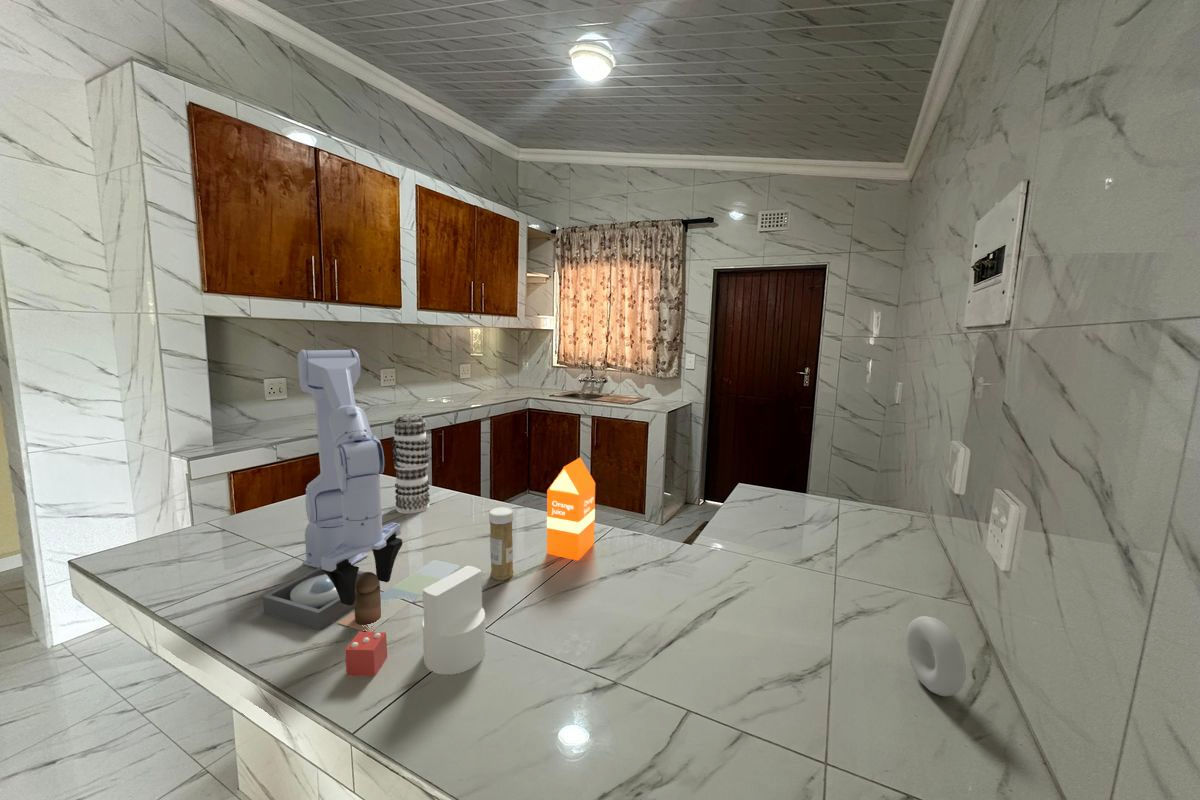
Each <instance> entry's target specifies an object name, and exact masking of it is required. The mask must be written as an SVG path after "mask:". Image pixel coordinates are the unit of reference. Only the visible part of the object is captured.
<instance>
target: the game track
mask: <svg viewBox="0 0 1200 800" xmlns="http://www.w3.org/2000/svg"><path fill="white" fill-rule="evenodd" d="M461 567H462V565H460V564H456V563H451V562H446V561H442V560H437V559H432V560H431V561H429V562H428V563H426V564H425V565H423V566H422V567H420V568H419V569H417V570H415V571H414V572H413V573H411V574H410V575H408V576H407V577H404V578H403V579H402V580H400V581H399V582H397V583H396V584H394V585H392V586H391V587H390V588H388V589H387V590H385V591H384V592H382V593H380V597H381V599H382V600H387V601H388V599H389V600H390V598H391V599H392V600H393V598H394V599H397V598H398V599H402V596H403V597H405V598H406V596H407V599H408V600H409V599H410V600H413V599H414V600H415V601H416V600H417V599H419V598H420V597H423V589H424V588H426V587H428V586H430V585H432V584H434V583H436V582H438V581H440V580H441V579H443V578H445V577H447V576H449V575H451V574H453V573H455V572H457V571H458V570H459V569H460V568H461ZM401 595H402V596H401ZM399 596H400V597H401V598H400V597H399ZM395 597H396V598H395ZM408 597H409V598H408ZM403 599H404V598H403ZM382 602H383V601H382ZM384 603H386V601H385V602H384ZM387 604H388V602H387ZM382 605H383V604H382ZM384 606H385V605H384ZM387 606H388V605H387ZM381 610H382V609H381ZM383 611H384V610H383ZM382 613H383V612H382ZM387 616H388V615H387ZM337 624H338V625H341V626H344V627H347V626H349V627H348V628H352V629H355V630H357V629H358V631H361V630H362V631H361V632H364V631H366V630H367V631H366V632H372V630H373V632H375V630H376V629H375V628H376V627H377V626H376V627H375V626H374V625H373V626H374V627H375V628H374V627H373V626H371V629H372V630H371V629H370V628H369V627H368V625H366V626H367V627H368V628H369V629H370V630H369V629H368V628H367V627H366V626H364V625H363V626H364V627H363V626H362V625H359V624H357V623H356V622H355V611H353V612H352V613H350V614H348V615H347V616H346V617H344V618H343V619H341V620H340V621H338V622H337ZM372 627H373V628H374V629H375V630H374V629H373V628H372ZM365 629H366V630H365ZM363 630H364V631H363Z"/></svg>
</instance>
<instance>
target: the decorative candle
mask: <svg viewBox="0 0 1200 800" xmlns="http://www.w3.org/2000/svg"><path fill="white" fill-rule="evenodd" d="M426 422H427V420H425V419H424V418H423V417H422V415H419V414H403V415H400V416H398V417H397V418H396V419H395V421H393V422H392V424H393V425H394V433H393V437H391V440H392V441H391V446H392V447H393V449H392V454H393V455H392V459H393V460H394V462H393V467H394V469H396V471H395V472H396V476H395V481H396V483H395V484H394V488H396V489H395V490H394V491H395V494H396V495H395V496H394V497H395V505H396V512H398V513H401V514H417V513H421V512H424V511H426V510H428V509H429V508H430V506H431V505H430V502H431V500H430V495H431V494H430V491H429V490H430V487H429V484H430V481H429V479H428V473H427V469H428V468H427V466H429V462H430V460H429V459H428V458H427V457H429V455H430V454H429V453H427V452H426V451H428V450H429V449H430V446H428V444H429V442H430V441H429V440H427V431H426Z"/></svg>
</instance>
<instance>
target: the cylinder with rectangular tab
mask: <svg viewBox="0 0 1200 800" xmlns="http://www.w3.org/2000/svg"><path fill="white" fill-rule="evenodd" d="M482 578H483V577H482V570H481V569H479V568H478V567H476V566H472V565H466V566H465V567H462V568H461V569H460V568H459V569H457V570H456V571H454V572H453V573H451V574H450V575H449V576H447V577H445V578H443V579H441V580H440V581H438V582H436V583H434V584H432V585H430V586H428V587H426V588H424V589H423V595H422V600H423V601H422V602H423V603H422V604H423V619H422V644H423V645H422V647H423V663H425V664H424V666H425V665H426V666H425V668H426V669H428V670H429V671H430V672H432V671H433V672H432V673H434V672H436V674H437V673H439V674H438V675H443V674H445V675H444V676H447V675H446V674H449V675H456V673H457V674H461V672H462V673H464V672H466V671H469V670H471V669H473V668H475V667H476V666H477V665H478V664H479V663H480V662H482V660H483V659H484V657H485V655H486V652H487V651H486V650H487V649H486V648H487V646H486V645H487V644H486V643H487V641H486V637H487V636H486V610H485V609H484V607H483V589H482V588H483V585H482V584H483V583H482Z"/></svg>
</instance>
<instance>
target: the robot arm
mask: <svg viewBox="0 0 1200 800" xmlns="http://www.w3.org/2000/svg"><path fill="white" fill-rule="evenodd" d="M359 356H360V355H359V353H358V352H357V351H356V350H355V349H354V348H350V349H331V350H330V349H323V350H322V349H319V350H318V349H316V350H313V349H312V350H311V349H310V350H305V349H301V350H300V351H299V352H298V354H297V371H298V379H299V380H298V381H299V387H300V388H301V392H304V393H307V394H311V397H312V399H313V401H314V407H315V417H316V418H315V419H316V420H315V421H316V430H317V434H316V435H317V447H318V457H319V469H320V473H319V474H318V475H317V476H316V477H315V478H314V479H313V480H311V481H310V482H309V483H308V484H307V485H306V487H305V510H306V511H305V512H306V518H307V520H308V524H307V525H306V527H305V530H304V543H305V544H304V545H305V556H306V557H305V558H306V559H305V560H303V561H302V564H303V565H305V566H308V567H313V568H315V569H317V568H319V567H322V570H323V571H324V572H325V573H326V574H327V576H328V577H329V578H330V580H331V581H332V583H333V584H334V586H335V588H336V590H337V593H338V595H339V598H340V600H341V603H342V604H346V605H349V606H351V605H353V604H354V602H355V582H356V576H357V573H358V571H360V570H359V569H360V567H359V566H355V565H354V564H356V563H358V562H359V561H361V560H364V559H365V558H367V557H368V556H369V555H368V553H367V552H370V551H372V554H373V557H374V562H375V565H374V566H375V575H377V578H378V580H379V581H380V582H383V583H388V582H390V581H391V577H392V571H393V567H394V564H395V561H396V558H397V556H398V553H399V551H400V549H401V548H402V546H403V539H402V538H400V537H399V536H400V535H402V531H401V523H397V522H389V523H388V524H385V525H383V517H382V516H383V515H382V513H383V512H382V511H383V510H382V493H381V490H382V489H381V476H380V474H381V475H383V473H384V471H385V470H384V469H385V456H384V455H385V454H384V449H383V446H382V443H381V440H380V439H379V438H378V437H377V436H376V434H373V433H372V430H371V427H370V422H369V420H368V417H367V414H366V412H365V410H364V409H362V408H361V407H360V406H357V404H356V399H355V394H354V393H355V392H354V387H355V385H356V384H357V383H358V380H359V379H360V377H361V361H360V357H359Z"/></svg>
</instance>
